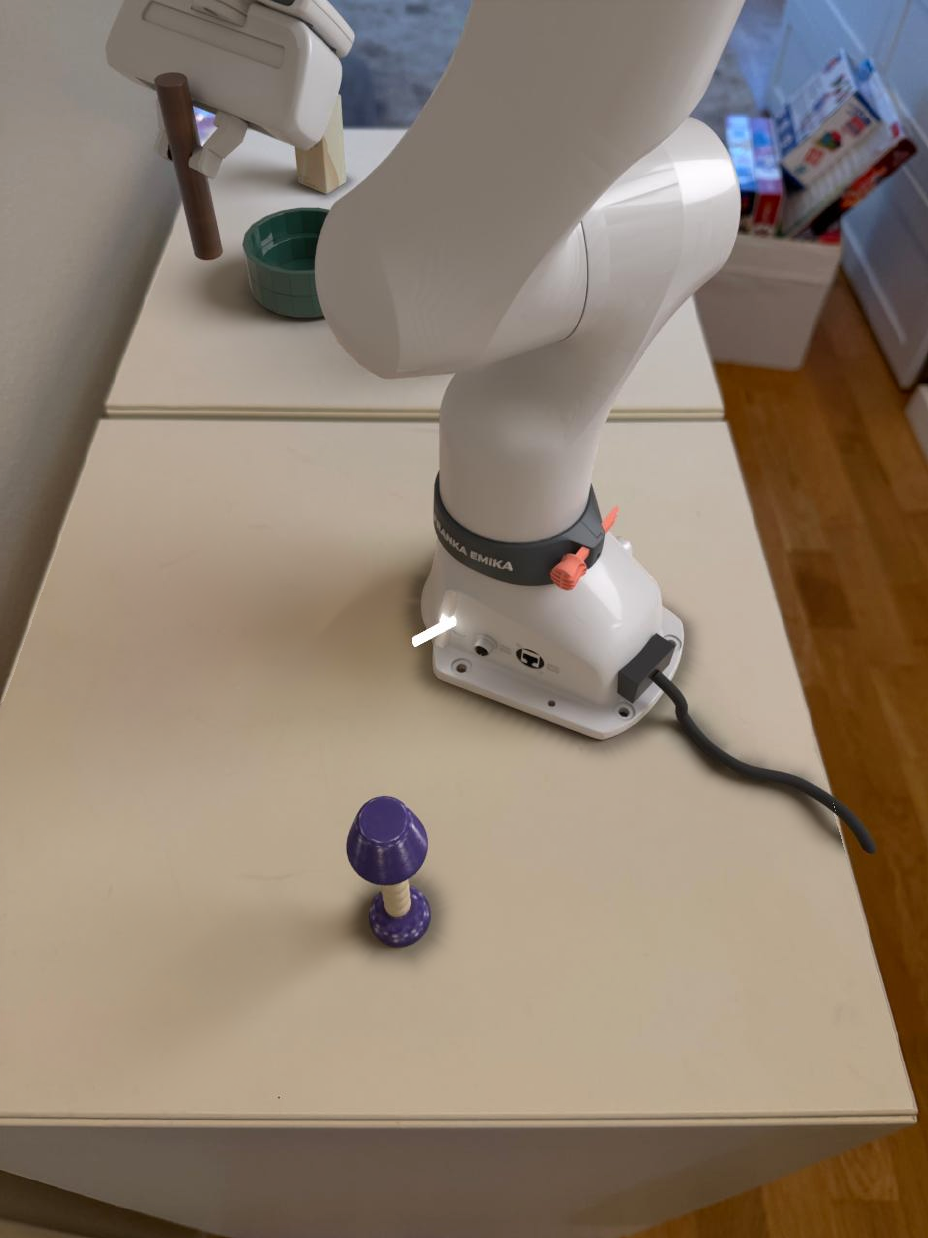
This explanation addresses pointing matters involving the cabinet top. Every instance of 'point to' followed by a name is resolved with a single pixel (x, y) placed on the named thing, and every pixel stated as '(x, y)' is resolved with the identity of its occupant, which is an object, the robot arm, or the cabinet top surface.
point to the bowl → (285, 261)
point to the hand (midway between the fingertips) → (183, 166)
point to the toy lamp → (391, 868)
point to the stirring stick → (190, 183)
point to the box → (324, 157)
